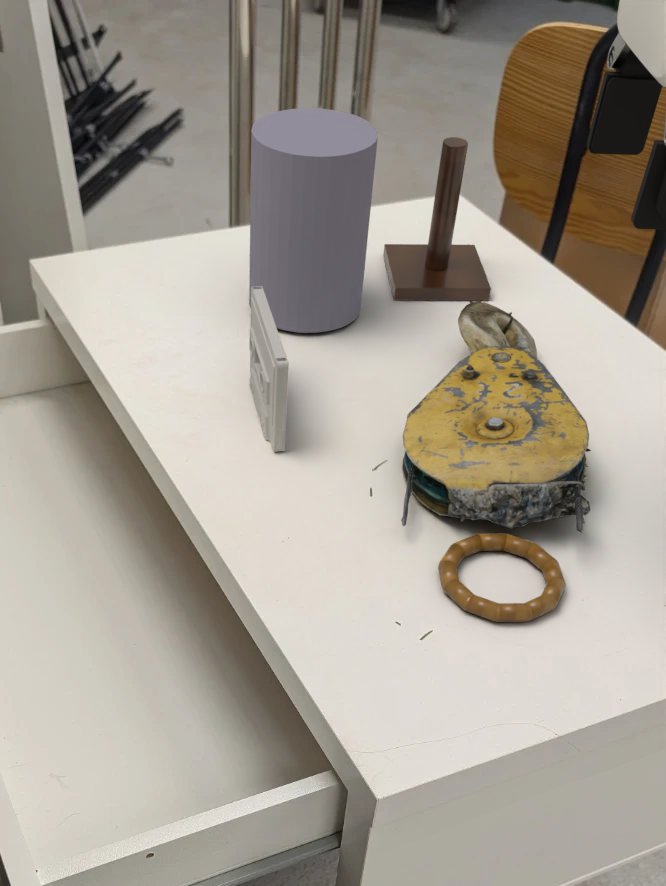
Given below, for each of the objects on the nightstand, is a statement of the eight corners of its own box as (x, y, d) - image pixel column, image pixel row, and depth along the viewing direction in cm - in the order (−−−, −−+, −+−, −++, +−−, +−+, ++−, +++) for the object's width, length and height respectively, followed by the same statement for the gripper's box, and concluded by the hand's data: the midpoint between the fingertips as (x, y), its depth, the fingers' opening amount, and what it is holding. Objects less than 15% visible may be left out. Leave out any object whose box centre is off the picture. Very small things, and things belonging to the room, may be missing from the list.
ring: (546, 543, 73) (550, 529, 72) (574, 624, 68) (578, 611, 67) (430, 543, 73) (432, 530, 72) (448, 625, 67) (451, 612, 66)
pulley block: (593, 276, 86) (601, 492, 67) (585, 341, 90) (592, 561, 71) (423, 283, 89) (385, 491, 70) (424, 345, 93) (388, 557, 74)
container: (340, 345, 90) (355, 165, 79) (232, 322, 92) (232, 143, 81) (374, 293, 97) (393, 119, 85) (272, 272, 99) (277, 100, 87)
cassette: (291, 453, 80) (295, 362, 74) (267, 454, 79) (270, 364, 74) (265, 371, 87) (267, 283, 81) (243, 372, 87) (244, 284, 81)
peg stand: (472, 256, 102) (496, 122, 93) (488, 300, 96) (516, 162, 87) (383, 256, 102) (398, 121, 92) (394, 300, 96) (411, 161, 87)
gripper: (948, -204, 37) (757, 263, 50) (779, -263, 48) (659, 130, 61) (746, -214, 37) (606, 259, 50) (623, -271, 48) (536, 126, 61)
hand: (635, 187), depth 56 cm, fingers open, 9 cm apart
